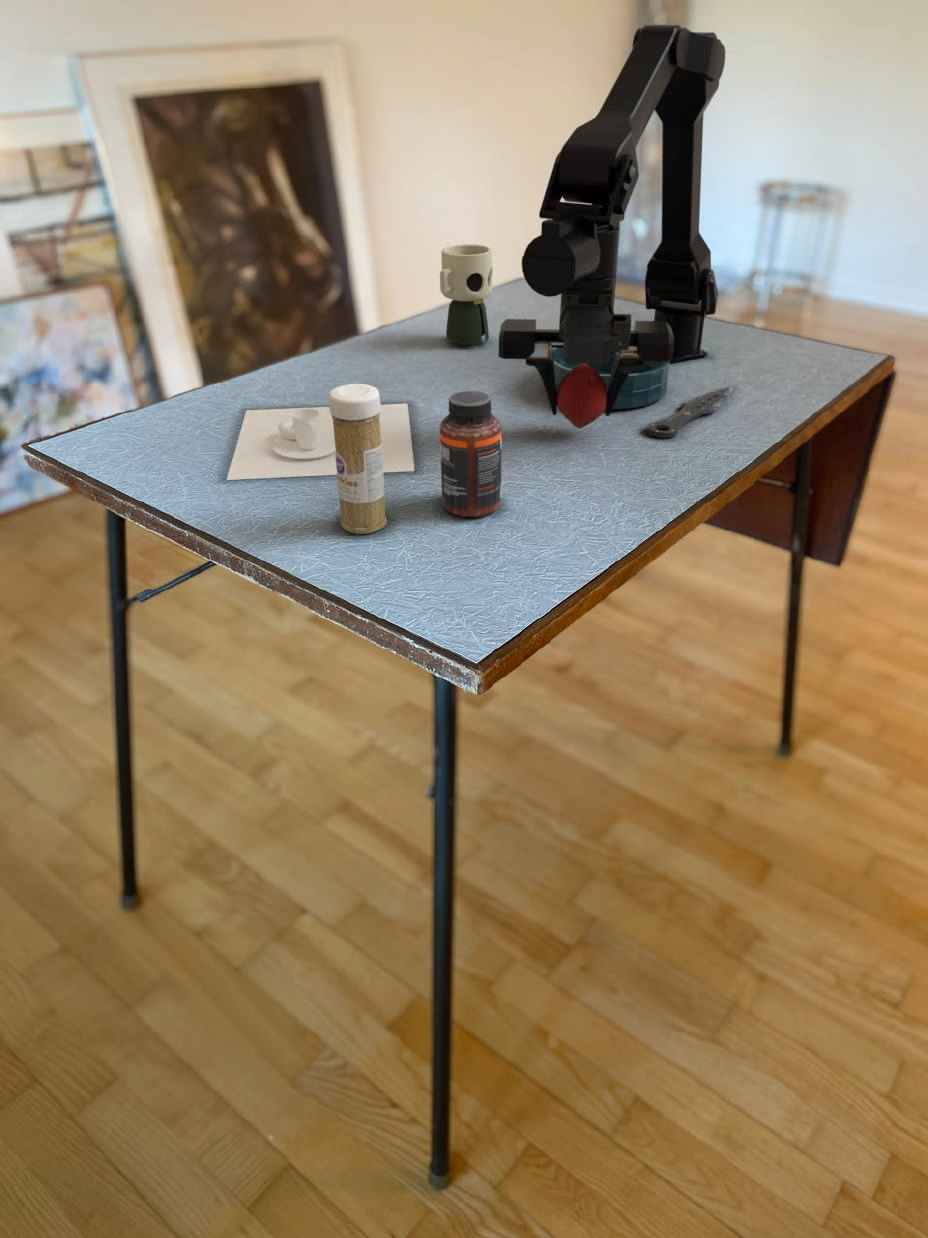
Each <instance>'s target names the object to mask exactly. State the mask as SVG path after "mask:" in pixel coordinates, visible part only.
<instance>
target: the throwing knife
mask: <svg viewBox="0 0 928 1238" xmlns="http://www.w3.org/2000/svg"><path fill="white" fill-rule="evenodd" d="M734 387H735V385H731V386H726V387H723V388H720V389H718V390H717V389H716V390H714V391H711V392H709V393H706V394H703V395H699V396H698V397H695V398H692V399H690V400H688V401H686V402H683V403H680V406H681V409H679V411H677V412H676V413H673V414H672V415H670V416H669V417H667V418H663V419H660V420H657V421H653V422H650V423H648V425H647V428H646V433H647V434H649V435H651V436H654V437H657V438H662V439H663V438H664V439H665V438H666V439H668V438H673V437H675V436H677V434H678V433H679V431H680V430H681V428H682V427H683V426H685V424H687V423H690V422H691V421H692V420H694V419H696V418H698V417H702V416H706V415H709V414H714V412H716V411H717V410H718V409H719V408H720V407H721V406H722V404H723V403H724V402H725V401H726V400H727V399H728V397H729V396H730V395H731V393H732V391H733V390H734ZM659 429H660V430H659ZM661 429H666V430H661Z"/></svg>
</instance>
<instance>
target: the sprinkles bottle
mask: <svg viewBox="0 0 928 1238" xmlns="http://www.w3.org/2000/svg"><path fill="white" fill-rule="evenodd" d="M380 405H381V396H380V391H379V390H378V388H376V387H375V386H372V385H371V384H365V383H348V384H343V385H338V386H336V387H333V388H332V389H331V390H330V391H329V393H328V407H329V409H330V413H331V415H332V418H333V425H334V437H335V448H336V453H335V456H336V469H337V475H336V479H337V490H338V491H337V493H338V497H339V506H340V507H339V508H340V519H339V520H340V521H339V522H340V525H341V527H342V529H343V530H345V531H347V532H348V533H351V534H356V535H363V534H373V533H375V532H378V531H379V530H382V529H383V528H384V527H385V526H386V525H387V524H388V518H387V516H386V506H385V505H386V503H385V492H386V491H385V490H386V489H385V475H384V473H383V457H382V443H381V436H380V421H379V415H380V413H379V412H380V409H381V407H380Z"/></svg>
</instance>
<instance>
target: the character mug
mask: <svg viewBox="0 0 928 1238" xmlns="http://www.w3.org/2000/svg"><path fill="white" fill-rule="evenodd" d="M440 257H441V271H439V290H440V293H441V294H442V295H443V296H444V297H445V298H446V299H449V300H451V301H450V303H449V305H448V312H447V321H446V333H445V338H446V339H447V340H448V341H451V342H453V343H455V344H459V345H460V346H474V345H475V346H476V345H481V344H482V337H483V336H484V339H485V342H488V341H489V339H490V334H489V322H488V315H487V307H486V305H485V302H484V300H485V299H489V297H490V296H491V294H492V292H493V275H494V273H493V271H494V269H493V268H494V267H493V265H494V264H493V250H492V248H490V247H489V246H486V245H482V244H470V243H468V244H467V243H465V244H464V243H463V244H454V245H448V246H445V247H443V248H442V249H441V256H440Z"/></svg>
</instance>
